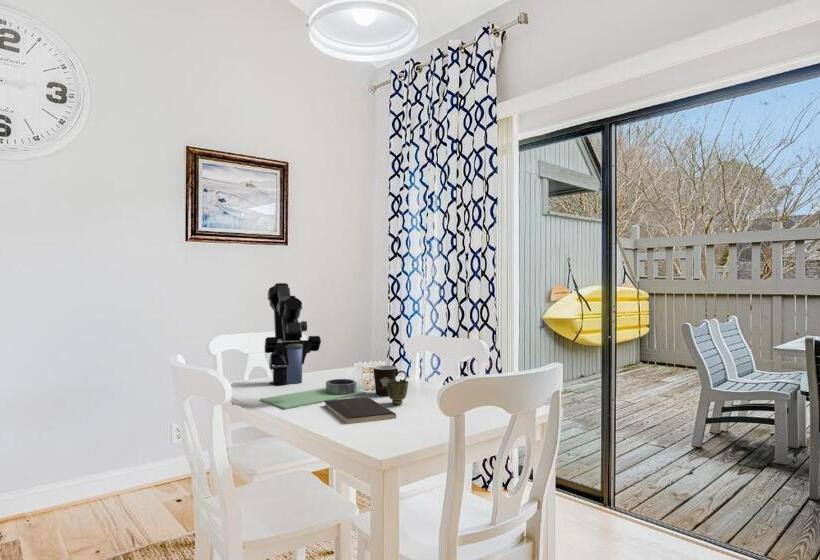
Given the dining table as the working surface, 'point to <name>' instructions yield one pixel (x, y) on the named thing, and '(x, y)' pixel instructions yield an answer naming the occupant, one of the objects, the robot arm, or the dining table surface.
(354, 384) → the cup
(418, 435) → the dining table surface
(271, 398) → the putting mat
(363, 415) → the hardcover book
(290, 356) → the golf ball sleeve
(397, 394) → the cup
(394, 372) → the coffee mug
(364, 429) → the dining table surface
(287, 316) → the robot arm
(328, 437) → the dining table surface
